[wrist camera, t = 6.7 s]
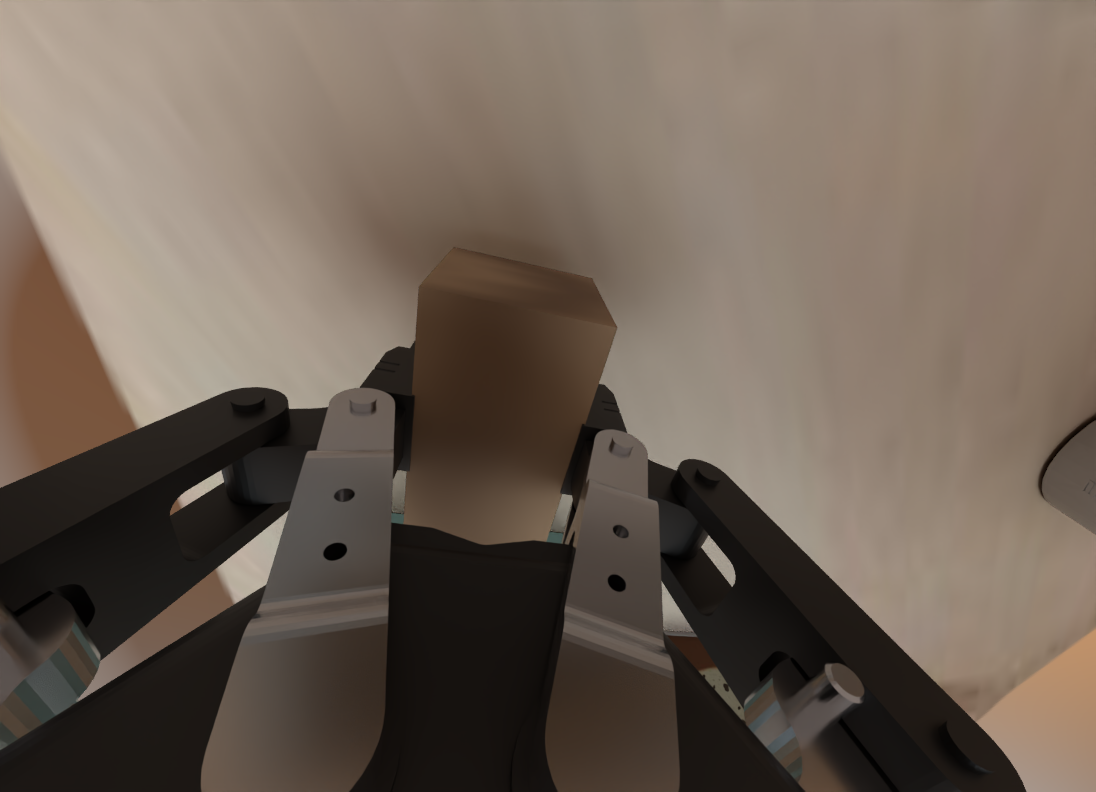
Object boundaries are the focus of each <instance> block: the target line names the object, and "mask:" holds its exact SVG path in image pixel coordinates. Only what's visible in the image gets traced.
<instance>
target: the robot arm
mask: <svg viewBox="0 0 1096 792" xmlns="http://www.w3.org/2000/svg"><path fill="white" fill-rule="evenodd" d="M414 355H415V342H414V343H413V345H412V346H411V348H405V347H396V348H394V349H392V350H390V351H388V352H386V353H385V355H384V356H383V357H382V359H381V360H380V362H379V363H378V364H377V365H376V366H375V369H373V370H372V372H371V373H370V374H369V376H368V377H367V378H366V380H365V381H364V382H363V384H362V385H361V386H360V388H354V389H349V390H345V391H342V392H340V393H338V394H336V395H335V396H334V397H333V398H332V399H331V400H330V402H329V406H328V407H326V408H315V409H289V405H288V399H287V397H286V396H285V395H284V394H282V393H281V392H279V391H276V390H273V389H268V388H260V387H251V388H240V389H235V390H231V391H228V392H225V393H222V394H220V395H217V396H215V397H213V398H210V399H208V400H206V401H203V402H201V403H199V404H196V405H194V406H192V407H189V408H187V409H185V410H182V411H180V412H177V413H175V414H173V415H170V416H168V417H166V418H163V419H161V420H159V421H156V422H154V423H152V424H149V425H147V426H145V427H142V428H140V429H138V430H135V431H133V432H131V433H128V434H126V435H124V436H121V437H119V438H117V439H114V440H112V441H109V442H107V443H105V444H102V445H100V446H98V447H95V448H93V449H91V450H88V451H86V452H84V453H81V454H79V455H77V456H74V457H72V458H70V459H67V460H65V461H62V462H60V463H58V464H55V465H53V466H51V467H48V468H46V469H44V470H41V471H39V472H37V473H34V474H32V475H30V476H27V477H25V478H23V479H20V480H18V481H16V482H13V483H11V484H9V485H6V486H4V487H1V488H0V792H1026V790H1025V787H1024V785H1023V782H1022V780H1021V779H1020V777H1019V775H1018V773H1017V771H1016V770H1015V768H1014V766H1013V765H1012V764H1011V762H1010V760H1009V759H1008V758H1007V756H1006V755H1005V754H1004V752H1003V751H1002V750H1001V749H1000V748H999V747H998V745H997V744H996V743H995V742H994V741H993V740H992V739H991V737H990V736H989V735H988V734H987V733H986V732H985V731H984V730H983V729H982V728H981V727H980V726H979V725H978V724H977V723H976V722H975V721H974V720H973V719H972V718H971V717H970V716H969V715H968V714H967V713H966V712H965V711H964V710H963V709H962V708H961V707H960V706H959V705H958V704H957V703H956V702H955V701H954V700H953V699H952V698H951V697H950V696H949V695H948V694H947V693H946V692H945V691H944V690H943V689H942V688H941V687H940V686H939V685H938V684H937V683H935V682H934V681H933V680H932V679H931V678H930V677H929V676H928V675H927V674H926V673H925V672H924V671H923V670H922V669H921V668H920V667H919V666H918V665H917V664H916V663H915V662H914V661H913V660H912V659H911V658H910V657H909V656H908V655H907V654H906V653H905V652H904V651H903V650H902V649H901V648H900V647H899V646H898V645H897V644H896V643H895V642H894V641H893V640H892V639H891V638H890V637H889V636H888V635H887V634H886V633H885V632H884V631H883V630H882V629H881V628H880V627H879V626H878V625H877V624H876V623H875V622H874V621H873V620H872V619H871V618H870V617H869V616H868V615H867V614H866V613H865V612H864V611H863V610H862V609H861V608H860V607H859V606H858V605H857V604H856V603H855V602H854V601H853V600H852V599H851V598H850V597H849V596H848V595H847V594H846V593H845V592H844V591H843V590H842V589H841V588H840V587H839V586H838V585H837V584H836V583H835V582H834V581H833V580H832V579H831V578H830V577H829V576H828V575H827V574H826V573H825V572H824V571H823V570H822V569H821V568H820V567H819V566H818V565H817V564H816V563H815V562H814V561H813V560H812V559H811V558H810V557H809V556H808V555H807V554H806V553H805V552H804V551H803V550H802V549H801V548H800V547H799V546H798V545H797V544H796V543H795V542H794V541H793V540H792V539H791V538H790V537H789V536H788V535H787V534H786V533H785V532H784V531H783V530H782V529H781V528H780V527H779V526H777V525H776V524H775V523H774V522H773V521H772V520H771V519H770V518H769V517H768V516H767V515H766V514H765V513H764V512H763V511H762V510H761V509H760V508H759V507H758V506H757V505H756V504H755V503H754V502H753V501H752V500H751V499H750V498H749V497H748V496H747V495H746V494H745V493H744V492H743V491H742V490H741V489H740V488H739V487H738V486H737V485H736V484H735V483H734V482H733V481H732V480H731V479H730V478H729V477H728V476H727V475H726V474H725V473H724V472H723V471H721V470H720V469H718V468H717V467H715V466H713V465H711V464H709V463H707V462H704V461H701V460H696V459H687V460H684V461H682V462H681V463H680V465H679V467H678V469H677V471H676V470H673V469H670V468H668V467H665V466H662V465H660V464H657V463H655V462H652V461H651V460H649V459H648V453H647V449H646V448H645V446H644V445H643V444H642V443H641V442H640V441H639V440H638V439H637V438H635V437H634V436H632V435H630V434H628V433H627V431H626V428H625V425H624V422H623V419H622V416H621V414H620V413H619V412H620V411H619V408H618V405H617V402H616V399H615V397H614V394H613V393H612V392H611V391H610V390H609V389H608V388H607V387H606V386H605V385H602V384H598V387H597V390H596V393H595V396H594V399H593V402H592V405H591V408H590V411H589V414H588V417H587V420H586V423H585V424H582V426H581V429H580V432H579V435H578V438H577V442H576V445H575V448H574V451H573V454H572V457H571V460H570V463H569V466H568V469H567V472H566V475H565V478H564V481H563V484H562V487H561V490H560V494H567V495H572V497H573V502H572V504H571V507H570V510H569V513H568V517H567V521H566V525H565V529H564V533H563V538H562V542H561V543H553V542H544V541H536V540H530V541H520V542H510V543H501V544H491V545H482V544H478V543H475V542H472V541H469V540H466V539H464V538H461V537H458V536H455V535H452V534H449V533H447V532H444V531H441V530H438V529H435V528H432V527H424V526H416V525H408V524H399V523H391V515H392V486H393V479H394V477H395V474H396V472H397V470H402V471H410V461H411V446H412V432H413V418H414V404H415V395H412V385H413V370H414ZM220 470H222V474H223V478H224V483H222V484H220V485H219V486H217V487H216V488H214V489H212V490H211V491H209V492H208V493H206V494H204V495H203V496H201V497H200V498H198V499H196V500H195V501H193V502H192V503H190V504H188V505H187V506H185V507H183V508H182V509H180V510H179V511H177V512H175V513H174V514H172V515H171V516H170V510H171V508H172V505H173V504H174V502H175V501H176V500H177V498H178V497H179V496H180V495H181V494H183V493H184V492H185V491H187V490H188V489H190V488H192V487H193V486H195V485H197V484H198V483H200V482H202V481H203V480H205V479H207V478H209V477H210V476H212V475H214V474H215V473H217V472H219V471H220ZM1042 492H1043V495H1044V498H1045V499H1046V500H1047V501H1048V502H1049V503H1050V504H1051V505H1052V506H1053V507H1055V508H1056V509H1058V510H1059V511H1061V512H1062V513H1064V514H1065V515H1067V516H1068V517H1070V518H1071V519H1073V520H1074V521H1076V522H1077V523H1079V524H1080V525H1082V526H1083V527H1085V528H1086V529H1088V530H1089V531H1091V532H1093V533H1094V534H1096V420H1095V421H1094V422H1092V423H1091V424H1089V425H1088V426H1087V427H1085V428H1084V429H1083V430H1082V431H1080V432H1079V433H1078V434H1077V435H1076V436H1074V437H1073V438H1072V439H1071V440H1070V441H1069V442H1068V443H1067V444H1066V445H1065V446H1064V447H1063V448H1062V449H1061V450H1060V451H1059V452H1058V454H1057V455H1056V456H1055V458H1054V459H1053V461H1052V462H1051V463H1050V465H1049V466H1048V468H1047V471H1046V473H1045V475H1044V478H1043V482H1042ZM288 510H289V512H288V515H287V519H286V522H285V525H284V528H283V532H282V535H281V538H280V542H279V545H278V548H277V552H276V555H275V558H274V562H273V565H272V568H271V571H270V575H269V578H268V581H267V584H266V585H265V586H263V587H262V588H260V589H258V590H257V591H255V592H254V593H252V594H250V595H249V596H247V597H246V598H244V599H242V600H241V601H239V602H238V603H236V604H234V605H233V606H231V607H230V608H228V609H226V610H225V611H223V612H221V613H220V614H218V615H217V616H215V617H214V618H212V619H210V620H209V621H207V622H206V623H204V624H202V625H201V626H199V627H197V628H196V629H194V630H193V631H191V632H189V633H188V634H186V635H185V636H183V637H181V638H180V639H178V640H177V641H175V642H173V643H172V644H170V645H168V646H167V647H165V648H164V649H162V650H161V651H159V652H157V653H156V654H154V655H153V656H151V657H149V658H148V659H146V660H144V661H143V662H141V663H140V664H138V665H136V666H135V667H133V668H132V669H130V670H128V671H127V672H125V673H124V674H122V675H121V676H119V677H117V678H115V679H114V680H112V681H111V682H109V683H107V684H106V685H104V686H103V687H101V688H99V689H98V690H96V691H95V692H93V693H91V694H90V695H88V696H87V697H85V698H84V699H82V700H80V701H79V702H78V698H79V697H80V696H81V694H82V693H83V692H84V691H85V690H86V689H87V687H88V686H89V684H90V683H91V681H92V680H93V679H94V676H95V674H96V672H97V670H98V667H99V664H100V661H101V660H102V659H103V658H105V657H106V656H107V655H108V654H110V653H111V652H112V651H113V650H115V649H116V648H117V647H118V646H119V645H121V644H122V643H123V642H125V641H126V640H127V639H128V638H130V637H131V636H132V635H133V634H135V633H136V632H137V631H138V630H140V629H141V628H142V627H143V626H145V625H146V624H147V623H148V622H150V621H151V620H152V619H153V618H155V617H156V616H157V615H158V614H160V613H161V612H162V611H163V610H164V609H166V608H167V607H168V606H169V605H171V604H172V603H173V602H175V601H176V600H177V599H178V598H180V597H181V596H182V595H183V594H185V593H186V592H187V591H188V590H190V589H191V588H192V587H193V586H195V585H196V584H197V583H198V582H200V581H201V580H202V579H203V578H205V577H206V576H207V575H208V574H210V573H211V572H212V571H213V570H215V569H216V568H217V567H218V566H220V565H221V564H222V563H223V562H225V561H226V560H227V559H228V558H230V557H231V556H232V555H233V554H235V553H236V552H237V551H238V550H240V549H241V548H242V547H243V546H245V545H246V544H247V543H248V542H250V541H251V540H252V539H253V538H255V537H256V536H257V535H258V534H260V533H261V532H262V531H263V530H265V529H266V528H267V527H268V526H270V525H271V524H272V523H273V522H275V521H276V520H277V519H278V518H280V517H281V516H282V515H283V514H285V513H286V512H287V511H288ZM708 535H709V536H710V537H711V538H712V539H713V541H714V542H715V543H716V544H717V545H718V547H719V548H720V549H721V550H722V552H723V553H724V554H725V555H726V556H727V558H728V559H729V560H730V562H731V563H732V565H733V567H734V570H735V575H736V580H735V584H734V585H733V587H732V586H731V585H730V584H729V583H728V581H727V580H726V579H725V577H724V576H723V575H722V574H721V572H720V571H719V570H718V568H717V567H716V566H715V565H714V563H713V562H712V561H711V559H710V558H709V557H708V556H707V554H706V553H705V552H704V550H703V549H702V548H701V546H702V545H703V543H704V542H705V540H706V538H707V537H708ZM661 581H662V582H663V584H664V585H665V587H666V588H667V590H668V592H669V593H670V595H671V596H672V598H673V599H674V601H675V603H676V604H677V606H678V607H679V609H680V610H681V612H682V614H683V615H684V617H685V618H686V620H687V621H688V623H689V625H690V626H691V628H692V629H693V631H694V632H695V634H696V636H697V637H698V639H699V640H700V642H701V643H702V645H703V647H704V648H705V650H706V651H707V653H708V654H709V656H710V658H711V659H712V661H713V662H714V664H715V665H716V667H717V668H718V670H719V672H720V673H721V675H722V676H723V678H724V679H725V681H726V683H727V684H728V686H729V687H730V689H731V690H732V692H733V694H734V695H735V697H736V698H737V700H738V701H739V703H740V705H741V706H742V708H743V709H744V717H745V722H746V724H745V723H744V722H743V721H742V720H741V718H740V717H739V716H738V715H737V714H736V713H735V712H734V711H733V709H732V708H731V707H730V706H729V705H728V704H727V703H726V702H725V700H724V699H723V698H722V697H721V696H720V695H719V694H718V693H717V691H716V690H715V689H714V688H713V687H712V686H711V685H710V684H709V682H708V681H707V680H706V679H705V678H704V677H703V676H702V675H701V673H700V672H699V671H698V670H697V669H696V668H695V667H694V666H693V664H692V663H691V662H690V661H689V660H688V659H687V658H686V657H685V655H684V654H683V653H682V652H681V651H680V650H679V649H678V648H677V646H676V645H675V644H674V643H673V642H672V641H671V640H670V639H669V637H668V636H667V635H666V634H665V633H664V632H663V612H662V586H661Z"/></svg>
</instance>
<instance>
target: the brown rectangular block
mask: <svg viewBox="0 0 1096 792" xmlns="http://www.w3.org/2000/svg"><path fill="white" fill-rule="evenodd" d="M616 330H617V326H616V324H615V322H614V320H613V318H612V317H611V315H610V313H609V311H608V309H607V307H606V305H605V303H604V301H603V299H602V297H601V295H600V293H599V291H598V289H597V287H596V286H595V284H594V282H593V280H592V278H588V277H583V276H579V275H575V274H570V273H566V272H561V271H557V270H552V269H548V268H544V267H539V266H535V265H530V264H526V263H522V262H517V261H513V260H508V259H504V258H499V257H495V256H491V255H486V254H482V253H477V252H473V251H468V250H464V249H460V248H455V247H454V248H453V249H452V250H451V251H450V252H449V253H448V254H447V255H446V257H445V258H444V259H443V260H442V261H441V262H440V263H439V264H438V266H437V267H436V268H435V269H434V270H433V271H432V272H431V273H430V275H429V276H428V277H427V278H426V279H425V280H424V281H423V282H422V284H421V285H420V286H419V294H418V309H417V324H416V340H415V355H414V370H413V385H412V395H415V404H414V418H413V432H412V446H411V461H410V471H407V476H406V491H405V506H404V521H403V524H408V525H416V526H424V527H432V528H435V529H438V530H441V531H444V532H447V533H449V534H452V535H455V536H458V537H461V538H464V539H466V540H469V541H472V542H475V543H478V544H482V545H491V544H501V543H510V542H520V541H530V540H536V541H544V542H546V541H547V538H548V535H549V532H550V529H551V526H552V523H553V520H554V517H555V514H556V511H557V508H558V505H559V502H560V499H561V496H562V494H560V490H561V487H562V484H563V481H564V478H565V475H566V472H567V469H568V466H569V463H570V460H571V457H572V454H573V451H574V448H575V445H576V442H577V438H578V435H579V432H580V429H581V426H582V424H585V423H586V420H587V417H588V414H589V411H590V408H591V405H592V402H593V399H594V396H595V393H596V390H597V387H598V384H599V381H600V378H601V375H602V372H603V369H604V366H605V363H606V360H607V357H608V354H609V351H610V348H611V345H612V342H613V339H614V336H615V333H616Z"/></svg>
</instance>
